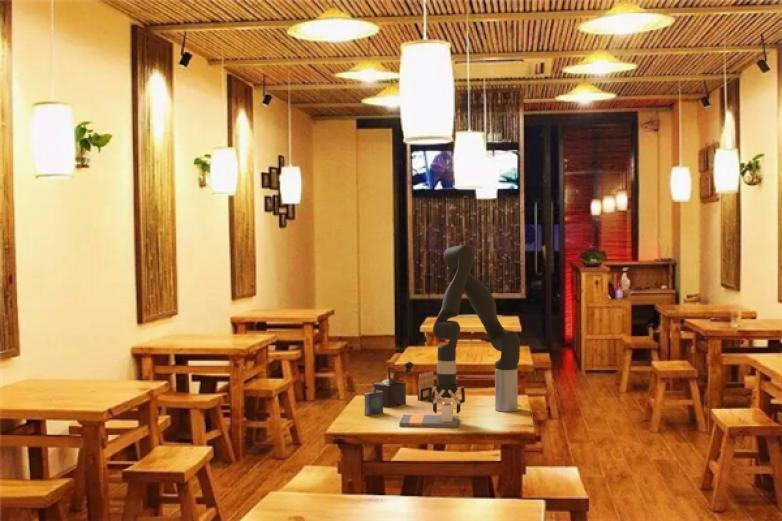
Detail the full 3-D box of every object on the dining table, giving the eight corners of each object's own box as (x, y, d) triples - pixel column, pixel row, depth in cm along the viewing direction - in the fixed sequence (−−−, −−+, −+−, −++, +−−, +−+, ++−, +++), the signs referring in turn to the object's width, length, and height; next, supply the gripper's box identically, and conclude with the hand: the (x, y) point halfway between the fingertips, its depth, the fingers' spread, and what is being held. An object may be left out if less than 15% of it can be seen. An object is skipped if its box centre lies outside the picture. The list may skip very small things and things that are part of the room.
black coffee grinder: (390, 408, 395) (390, 365, 394) (372, 404, 402) (372, 363, 402) (415, 402, 406) (415, 361, 405) (397, 399, 413) (397, 359, 413)
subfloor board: (458, 419, 371) (458, 415, 371) (456, 427, 356) (456, 423, 356) (403, 418, 374) (403, 414, 373) (399, 426, 359) (399, 422, 359)
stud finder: (453, 417, 368) (452, 401, 367) (452, 421, 360) (451, 405, 359) (442, 417, 368) (442, 401, 368) (441, 421, 360) (441, 405, 360)
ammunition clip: (420, 400, 410) (420, 373, 409) (417, 400, 411) (417, 373, 410) (435, 397, 418) (434, 370, 418) (431, 396, 419) (431, 370, 419)
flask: (366, 416, 379) (366, 389, 379) (362, 414, 381) (362, 388, 381) (384, 413, 385) (384, 387, 384) (380, 411, 387) (380, 386, 387)
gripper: (465, 370, 366) (465, 411, 367) (429, 369, 368) (429, 410, 368) (464, 373, 359) (464, 415, 359) (427, 373, 360) (427, 414, 361)
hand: (446, 413), depth 364 cm, fingers open, 8 cm apart
